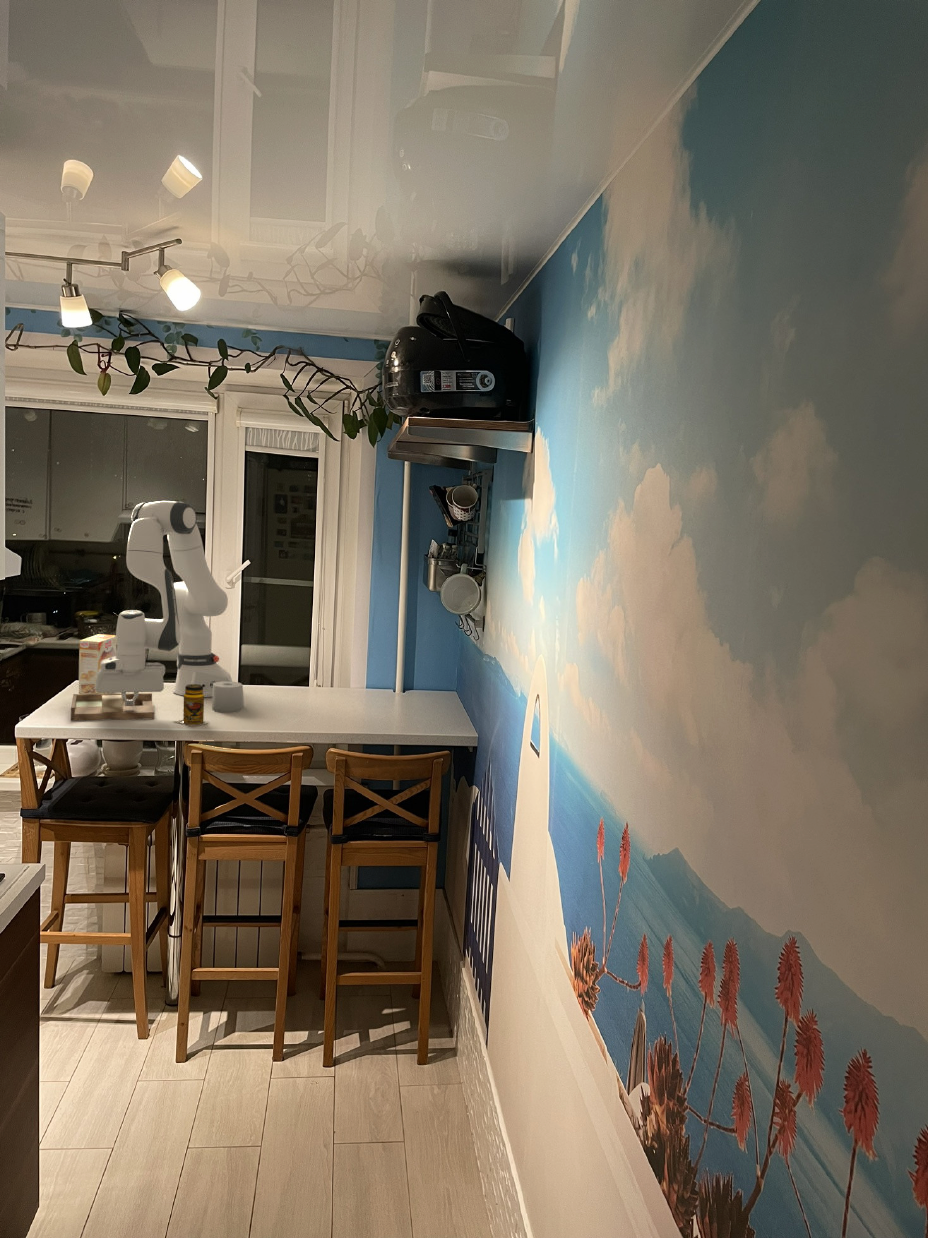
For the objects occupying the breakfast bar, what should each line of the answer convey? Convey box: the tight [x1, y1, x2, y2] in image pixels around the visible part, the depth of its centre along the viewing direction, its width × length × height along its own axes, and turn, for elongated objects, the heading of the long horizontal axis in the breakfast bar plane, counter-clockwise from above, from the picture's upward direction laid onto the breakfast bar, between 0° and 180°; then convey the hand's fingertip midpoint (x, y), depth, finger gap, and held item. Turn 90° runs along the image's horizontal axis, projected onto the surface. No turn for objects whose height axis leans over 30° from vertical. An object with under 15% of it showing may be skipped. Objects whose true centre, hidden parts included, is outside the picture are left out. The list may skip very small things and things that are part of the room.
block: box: [102, 695, 123, 712], centre depth 285 cm, size 6×6×4 cm
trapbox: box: [70, 692, 155, 721], centre depth 290 cm, size 24×18×4 cm
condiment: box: [173, 684, 210, 728], centre depth 284 cm, size 7×8×12 cm
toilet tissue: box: [211, 680, 245, 714], centre depth 305 cm, size 9×13×9 cm
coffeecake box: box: [78, 633, 117, 694], centre depth 312 cm, size 15×7×20 cm, turn 179°
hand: (129, 705), depth 287 cm, fingers closed
